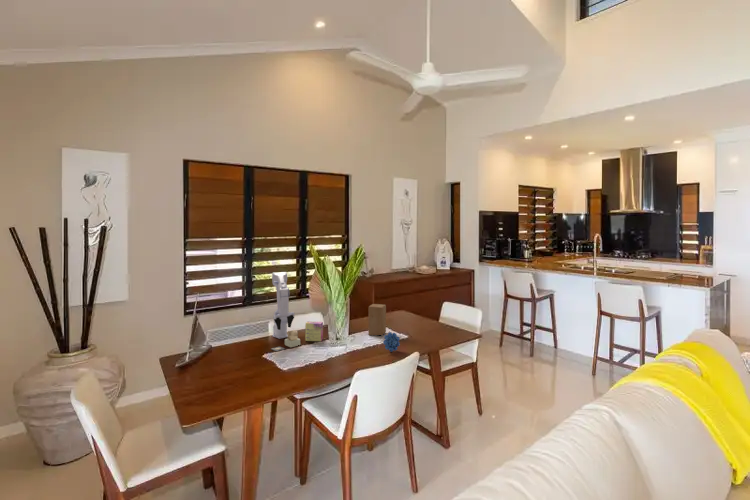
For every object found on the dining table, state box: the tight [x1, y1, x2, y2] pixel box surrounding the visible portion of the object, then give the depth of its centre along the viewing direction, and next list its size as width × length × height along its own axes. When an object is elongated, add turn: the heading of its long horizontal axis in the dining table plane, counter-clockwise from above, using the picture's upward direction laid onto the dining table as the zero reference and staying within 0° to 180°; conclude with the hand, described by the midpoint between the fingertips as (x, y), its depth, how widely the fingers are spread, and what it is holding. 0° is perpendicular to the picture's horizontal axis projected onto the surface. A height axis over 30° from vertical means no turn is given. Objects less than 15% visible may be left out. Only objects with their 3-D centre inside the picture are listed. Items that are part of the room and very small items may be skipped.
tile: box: [270, 346, 286, 352], centre depth 228 cm, size 6×6×1 cm
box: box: [304, 320, 324, 342], centre depth 247 cm, size 10×6×12 cm, turn 84°
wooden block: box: [367, 303, 387, 336], centre depth 262 cm, size 10×10×20 cm
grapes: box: [382, 331, 401, 353], centre depth 223 cm, size 12×7×12 cm, turn 121°
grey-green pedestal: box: [284, 338, 301, 348], centre depth 237 cm, size 7×7×4 cm
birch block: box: [287, 329, 299, 341], centre depth 236 cm, size 4×4×5 cm
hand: (284, 328), depth 239 cm, fingers open, 7 cm apart
